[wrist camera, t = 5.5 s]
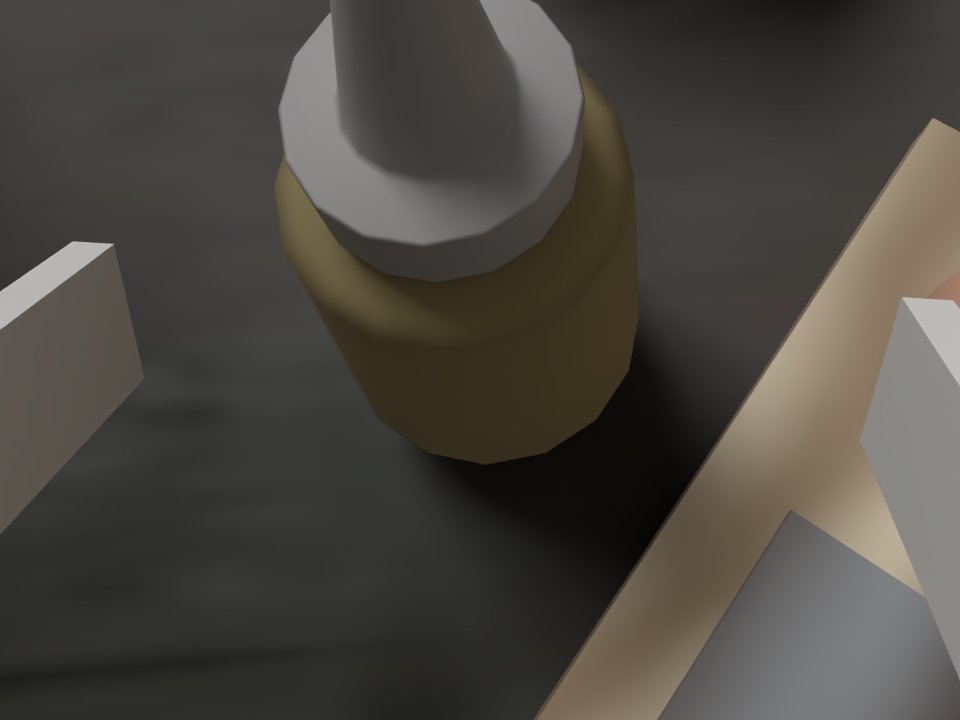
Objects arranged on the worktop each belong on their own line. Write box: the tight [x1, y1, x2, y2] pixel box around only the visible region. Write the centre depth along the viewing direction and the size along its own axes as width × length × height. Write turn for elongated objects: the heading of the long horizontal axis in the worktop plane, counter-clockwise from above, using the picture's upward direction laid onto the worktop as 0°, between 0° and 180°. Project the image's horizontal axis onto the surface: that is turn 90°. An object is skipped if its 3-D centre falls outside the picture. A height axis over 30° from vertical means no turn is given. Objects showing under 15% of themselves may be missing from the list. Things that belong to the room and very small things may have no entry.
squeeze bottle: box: [275, 0, 639, 465], centre depth 18 cm, size 8×8×18 cm
